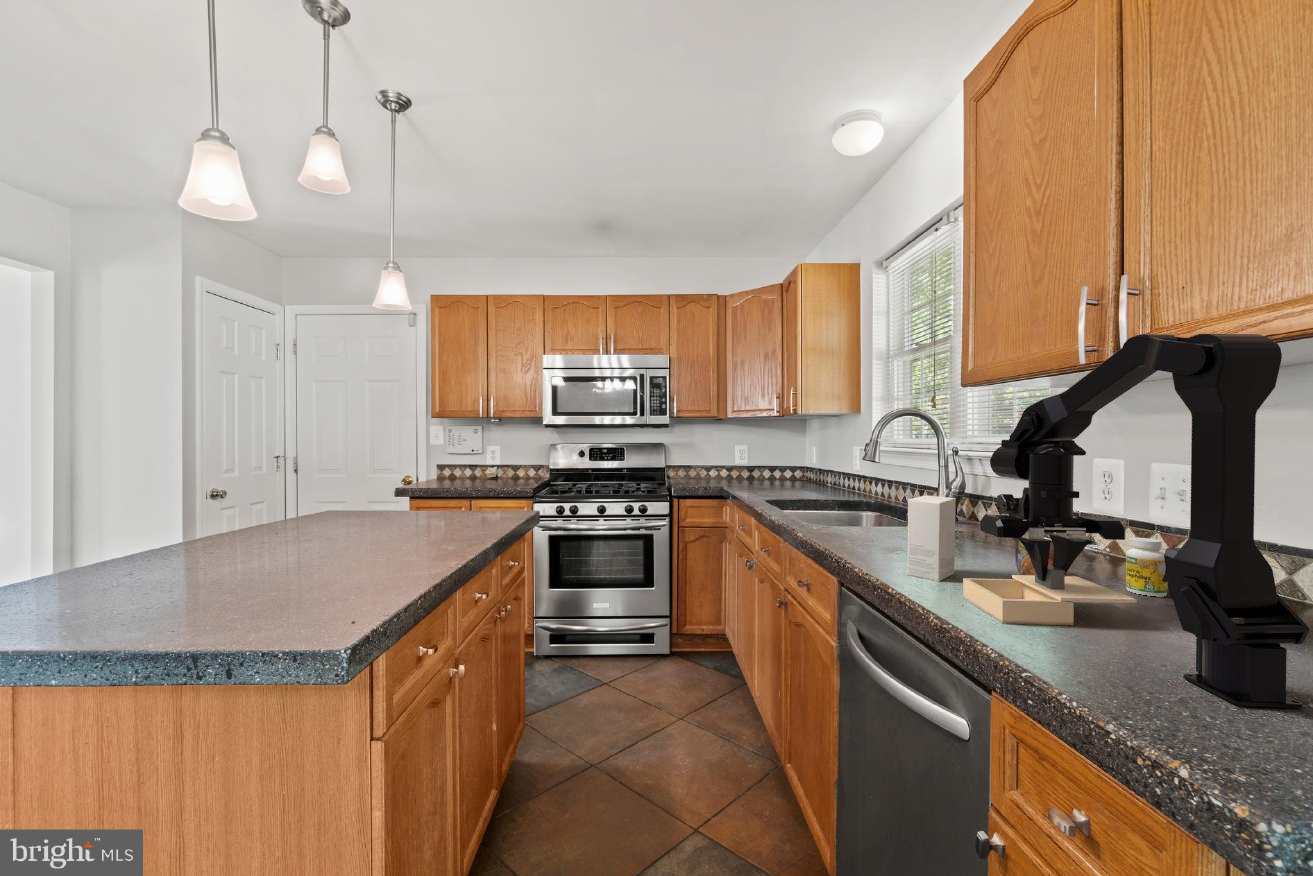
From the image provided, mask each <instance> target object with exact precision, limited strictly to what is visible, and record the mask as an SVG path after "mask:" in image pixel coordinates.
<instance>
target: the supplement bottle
mask: <svg viewBox="0 0 1313 876" xmlns="http://www.w3.org/2000/svg"><path fill="white" fill-rule="evenodd" d="M1130 545H1131V547H1132V548H1130V549H1127V551H1126V553H1125V558H1126V559H1125V560H1126V561H1125V566H1126V567H1125V570H1126V571H1125V583H1126V584H1125V587H1126V590H1127V591H1128V592H1129V591H1130V592H1129V593H1131V592H1132V593H1131V594H1134V593H1136V594H1135V595H1138V594H1142V595H1141V596H1143V595H1147V596H1146V597H1150V596H1156V597H1155V598H1164V596H1165V597H1166V596H1167V595H1168V582H1163V581H1162V579H1163V577H1164V575H1165V569H1166V568H1165V560H1164V553H1165V552H1162V551H1160V550H1162V548H1163V547H1162V541H1161V540H1160V539H1156V538H1155V539H1154V538H1148V537H1131V538H1130Z"/></svg>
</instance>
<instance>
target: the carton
mask: <svg viewBox="0 0 1313 876" xmlns="http://www.w3.org/2000/svg"><path fill="white" fill-rule="evenodd" d="M962 584H963V585H962V587H963V588H962V598H963V600H964V601H966V602H968V603H969V604H971V605H973V606H974V607H975V608H977V609H978V610H980V611H982V612H984V613H985V614H987V615H988V616H990V617H991V618H993V619H994V620H996V621H998V622H999V623H1001V624H1004V625H1005V624H1006V625H1007V624H1008V625H1034V626H1035V625H1039V626H1041V625H1044V626H1068V625H1072V626H1074V610H1075V609H1074V608H1075V607H1074V602H1075V601H1060V600H1058V599H1056V598H1054V597H1051V596H1049V595H1047V594H1045V593H1043V592H1041V591H1039V590H1037V589H1035V588H1032V587H1030V586H1028V585H1026V584H1024V583H1022V582H1020V581H1018V580H1015V579H1013V578H1012V579H1011V578H1009V579H1008V578H1006V579H1005V578H1004V579H1003V578H975V577H974V578H970V577H969V578H968V577H967V578H965V577H963V579H962Z"/></svg>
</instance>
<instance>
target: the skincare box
mask: <svg viewBox="0 0 1313 876" xmlns="http://www.w3.org/2000/svg"><path fill="white" fill-rule="evenodd" d="M907 501H908V502H907V503H908V504H907V551H906V552H907V554H906V557H907V558H906V561H907V562H906V565H907V566H906V575H907V576H910V577H914V578H920V579H925V580H928V581H929V580H930V581H934V582H938V583H939V582H941V581H942V580H945V579H947V578H949V577H951V576H953V575H954V574H955V562H956V561H955V559H956V558H955V557H956V556H955V555H956V553H955V552H956V550H955V549H956V544H955V543H956V504H957V503H956V498H955V497H947V496H946V497H945V496H938V495H937V496H936V495H926V494H925V495H921V496H917V497H913V498H909V499H907Z"/></svg>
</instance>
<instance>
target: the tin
mask: <svg viewBox="0 0 1313 876" xmlns="http://www.w3.org/2000/svg"><path fill="white" fill-rule="evenodd" d="M1016 540H1017V541H1016V545H1015V552H1014V554H1015V555H1014V556H1015V566H1016V569H1017V572H1018V573H1019V575H1035V570H1034V567H1033V565H1032V562H1031V560H1030V557H1029V555H1028V553H1027V551H1026V549H1025V547H1024V545H1023V544H1022V543H1021V542H1020V541H1019V540H1018V539H1016ZM1053 554H1054V545H1053V543H1052V542H1051V544H1050V552H1049V561H1048V564H1049V565H1052V566H1053Z"/></svg>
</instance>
